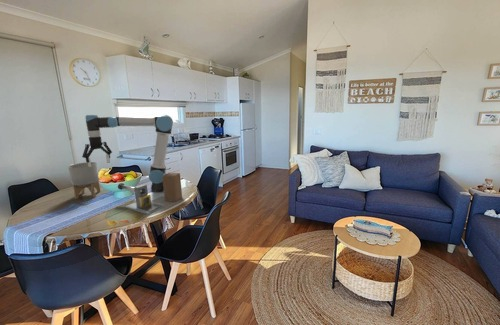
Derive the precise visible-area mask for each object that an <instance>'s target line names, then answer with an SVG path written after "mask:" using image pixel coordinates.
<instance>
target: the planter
mask: <svg viewBox="0 0 500 325" xmlns="http://www.w3.org/2000/svg"><path fill="white" fill-rule="evenodd" d="M91 166H92V167H88V163H87V162H79V163H74V164H70V165H68V166H67V167H68V172H69V177H70V181H71V182H70V183H71V185H72V189H73V193H74V194H73V195H74V198H75V200H78V199H79V198H80V197H79V196H80V194H82V195H83V194H85V188H87V189H88V191H89V192H90V193H91V196H92V198H96V192H97V193H101V187H100V182H99V181H100V177H99V178H98V175H99V170H98V165H97V162H96V161H95V162H94V161H91ZM95 190H96V192H95Z"/></svg>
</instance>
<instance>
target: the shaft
mask: <svg viewBox="0 0 500 325" xmlns="http://www.w3.org/2000/svg"><path fill="white" fill-rule="evenodd" d="M134 187H135V186H130V185H127V184H124V183H123V182H120V183H118V185H117V189H118V190H120V191H122V190H125V191H130V192H133V193H135V190H134ZM140 192H141V193H143V189H141V190H140Z"/></svg>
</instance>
